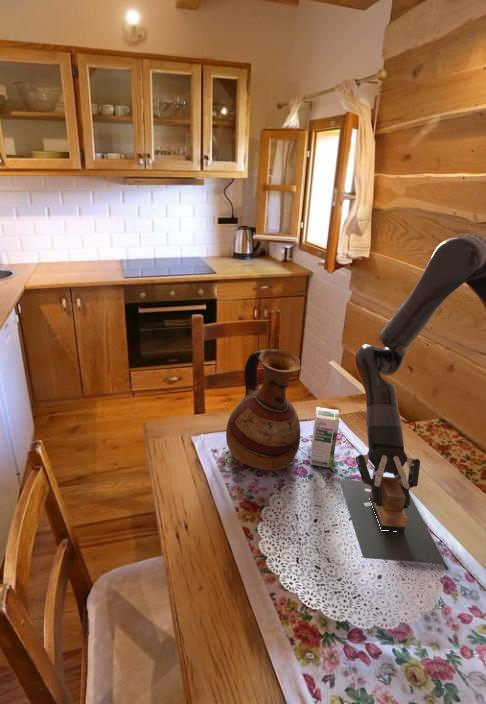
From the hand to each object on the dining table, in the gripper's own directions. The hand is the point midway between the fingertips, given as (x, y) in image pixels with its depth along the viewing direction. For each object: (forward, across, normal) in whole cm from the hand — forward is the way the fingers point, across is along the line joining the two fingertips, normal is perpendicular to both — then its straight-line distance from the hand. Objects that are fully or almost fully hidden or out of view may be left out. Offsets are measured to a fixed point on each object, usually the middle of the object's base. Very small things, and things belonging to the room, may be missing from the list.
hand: (392, 506), depth 87 cm
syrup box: (-11, -11, +18) cm, 24 cm away
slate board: (+3, 0, +5) cm, 5 cm away
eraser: (+2, 0, +4) cm, 5 cm away
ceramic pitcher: (-11, -27, +19) cm, 35 cm away
